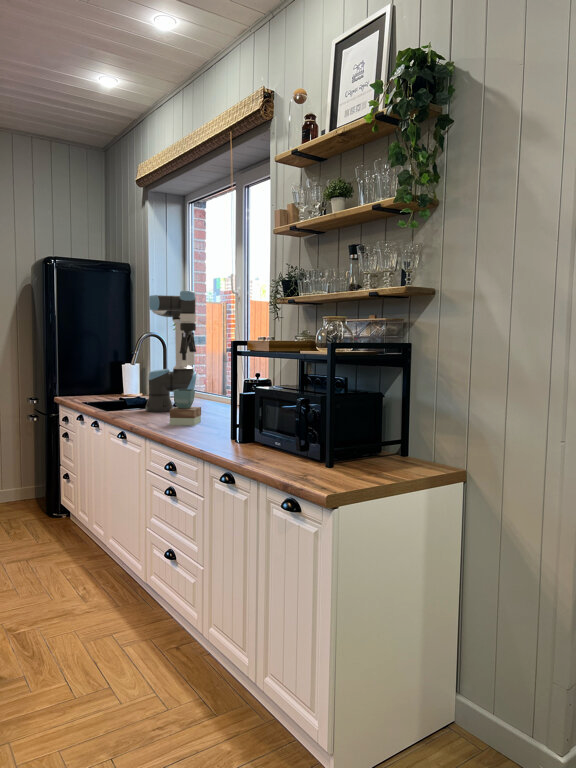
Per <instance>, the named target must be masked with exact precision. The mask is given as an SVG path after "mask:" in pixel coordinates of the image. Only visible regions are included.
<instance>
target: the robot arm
mask: <svg viewBox="0 0 576 768" xmlns="http://www.w3.org/2000/svg"><path fill="white" fill-rule="evenodd" d="M196 305H197V303H196V292H195V291H194V290H181V291H180V292H179V295H161V294H159V295H157V294H154V295H149V296H148V306H149V307H148V308H149V310H150V311H151V312H152V313H153V314H155V315H157V316H160V317H164V318H172V322H173V323H174V325H175V326H174V327H175V328H174V330H175V331H174V332H175V333H174V334H175V337H174V338H175V340H174V342H175V366H174V367H173V368H172V371H170V369H169V368H162V369H158V370H151V371H149V373H148V378H147V380H148V398H147V402H146V405H145V411H146V412H152V413H161V412H164V413H165V412H170V409H173V408H174V406H173V402H172V400H171V397H170V393H171V392H173V391H174V390H177V389H195V387H196V382H197V371H195V370H194V367H193V366H195V363H196V362H195V361H196V360H195V359H196V358H195V353H197V348H196V342H195V332H196V330H197V328H196V326H197V325H196V321H197V319H196V318H197V315H196ZM194 331H195V332H194ZM173 393H174V392H173Z"/></svg>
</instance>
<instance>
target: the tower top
mask: <svg viewBox="0 0 576 768" xmlns="http://www.w3.org/2000/svg"><path fill="white" fill-rule="evenodd" d="M200 415H201V416H202V406H191V407H190V408H188V409H186V408H178V407H177V406H176V407H173V409H170V411H169V419H170V418H196V417H198V416H200Z"/></svg>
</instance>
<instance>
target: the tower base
mask: <svg viewBox="0 0 576 768" xmlns="http://www.w3.org/2000/svg"><path fill="white" fill-rule="evenodd" d="M201 416H202V414H201V415H200V416H198V417H196V418H170V417H169V425H170V426H196V425H198V424H200V423H201V421H202V419H201V418H202V417H201Z"/></svg>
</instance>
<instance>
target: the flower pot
mask: <svg viewBox="0 0 576 768" xmlns="http://www.w3.org/2000/svg"><path fill="white" fill-rule="evenodd" d="M195 395H196V389H195V388H194V389H177V390H174V391H173V398H174V399H173V400H174V404H175V405H176V407H178V408H186V409H188V408H190V407H193V404H194V401H195Z"/></svg>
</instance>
